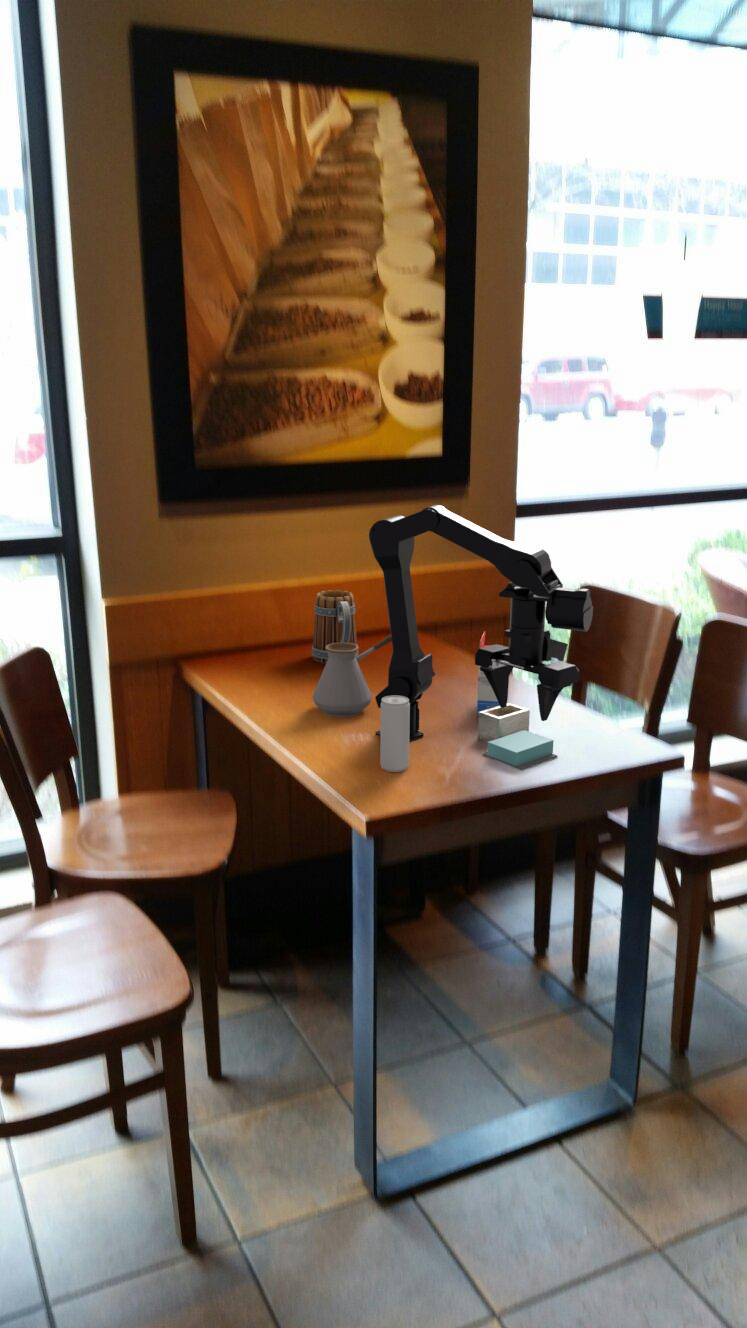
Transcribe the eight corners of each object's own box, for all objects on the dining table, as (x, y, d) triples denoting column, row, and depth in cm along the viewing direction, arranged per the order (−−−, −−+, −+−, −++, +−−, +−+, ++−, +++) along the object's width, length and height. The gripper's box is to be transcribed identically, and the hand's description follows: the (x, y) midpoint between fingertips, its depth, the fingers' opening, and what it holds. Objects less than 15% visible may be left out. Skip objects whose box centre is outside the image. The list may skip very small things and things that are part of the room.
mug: (306, 654, 248) (305, 590, 244) (350, 651, 251) (350, 587, 247) (324, 673, 234) (323, 605, 230) (370, 669, 237) (371, 602, 233)
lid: (516, 766, 181) (516, 752, 180) (487, 755, 186) (487, 742, 185) (552, 753, 187) (553, 740, 186) (524, 742, 192) (524, 730, 191)
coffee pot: (330, 724, 202) (330, 646, 198) (302, 707, 212) (301, 633, 208) (425, 706, 213) (427, 632, 209) (394, 690, 222) (395, 619, 218)
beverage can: (408, 762, 184) (409, 694, 180) (409, 773, 179) (410, 704, 176) (379, 762, 183) (380, 695, 180) (380, 773, 179) (381, 704, 175)
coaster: (521, 770, 180) (522, 767, 180) (482, 755, 187) (482, 753, 187) (557, 757, 186) (557, 755, 186) (517, 743, 193) (518, 741, 192)
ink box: (501, 716, 207) (504, 642, 203) (476, 715, 208) (478, 641, 204) (505, 703, 215) (508, 631, 211) (480, 701, 216) (483, 630, 212)
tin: (498, 745, 191) (499, 719, 190) (477, 738, 195) (478, 712, 194) (528, 735, 196) (529, 709, 195) (508, 728, 200) (509, 703, 199)
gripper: (603, 627, 178) (597, 717, 182) (518, 607, 192) (514, 691, 196) (558, 638, 171) (554, 731, 175) (473, 617, 185) (471, 704, 189)
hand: (523, 713), depth 184 cm, fingers open, 9 cm apart
